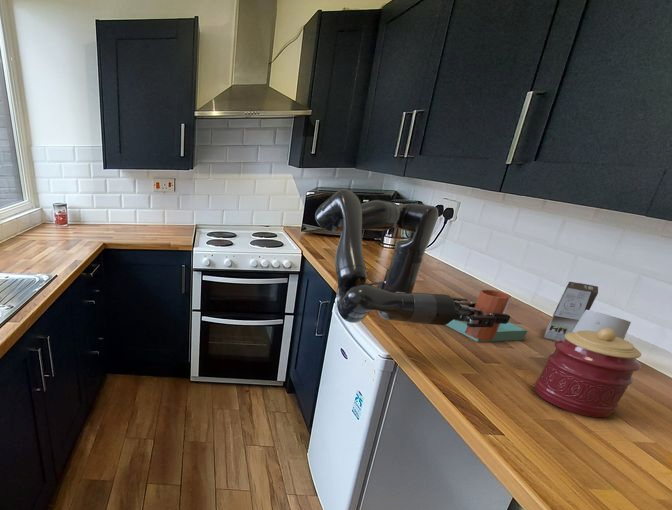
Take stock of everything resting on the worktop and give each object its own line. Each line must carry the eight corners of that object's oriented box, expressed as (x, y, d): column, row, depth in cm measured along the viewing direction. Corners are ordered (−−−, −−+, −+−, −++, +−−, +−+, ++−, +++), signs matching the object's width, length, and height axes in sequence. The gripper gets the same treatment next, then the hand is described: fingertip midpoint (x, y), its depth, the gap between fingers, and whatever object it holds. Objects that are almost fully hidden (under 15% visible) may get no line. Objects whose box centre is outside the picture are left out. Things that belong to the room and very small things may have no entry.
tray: (440, 322, 127) (443, 313, 126) (483, 320, 130) (486, 312, 128) (477, 341, 115) (481, 332, 114) (523, 339, 117) (527, 330, 116)
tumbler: (459, 330, 102) (474, 289, 97) (478, 329, 103) (495, 289, 98) (479, 340, 96) (496, 298, 92) (499, 339, 97) (517, 297, 93)
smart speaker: (615, 364, 105) (643, 315, 100) (600, 372, 101) (629, 321, 96) (569, 348, 113) (592, 302, 107) (554, 355, 109) (577, 307, 103)
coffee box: (572, 345, 115) (599, 293, 108) (543, 337, 119) (567, 287, 113) (573, 336, 121) (599, 286, 114) (545, 329, 125) (568, 280, 118)
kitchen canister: (627, 413, 85) (673, 339, 78) (586, 423, 81) (631, 346, 74) (556, 381, 96) (591, 314, 89) (518, 388, 93) (551, 319, 86)
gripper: (408, 311, 106) (475, 316, 105) (436, 335, 93) (513, 341, 92) (416, 284, 103) (486, 289, 102) (446, 305, 90) (526, 311, 89)
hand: (498, 313), depth 97 cm, fingers closed on tumbler, 6 cm apart
